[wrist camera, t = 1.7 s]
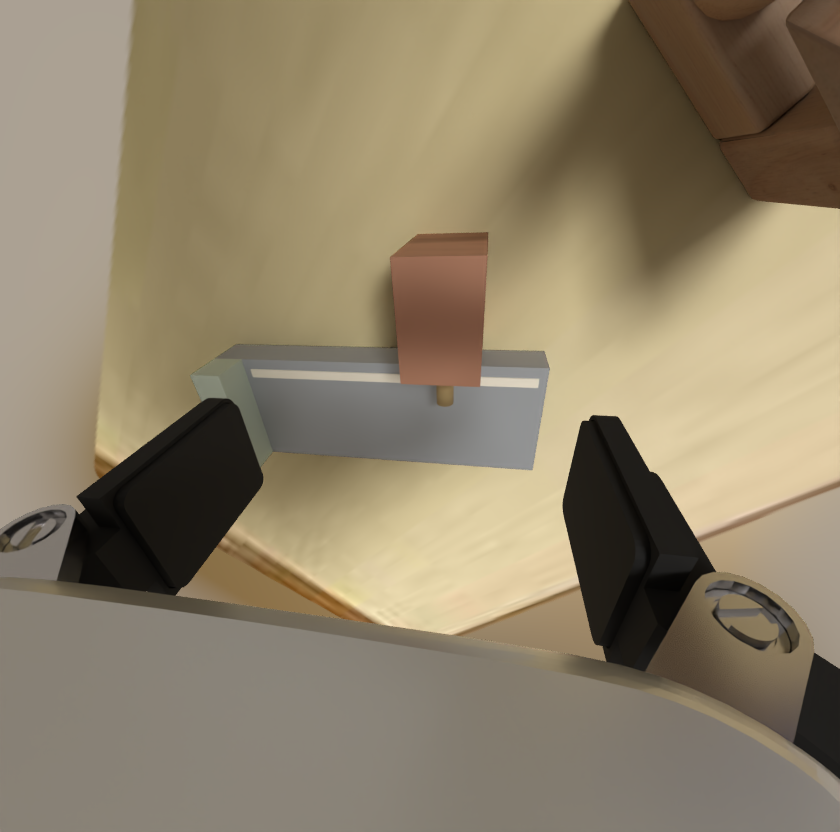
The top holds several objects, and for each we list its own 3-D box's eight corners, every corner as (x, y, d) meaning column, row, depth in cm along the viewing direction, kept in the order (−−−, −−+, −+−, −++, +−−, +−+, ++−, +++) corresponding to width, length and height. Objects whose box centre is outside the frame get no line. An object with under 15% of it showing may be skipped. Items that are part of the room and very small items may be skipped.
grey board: (235, 344, 27) (189, 375, 23) (544, 351, 23) (556, 388, 19) (265, 431, 31) (231, 470, 27) (529, 448, 28) (536, 495, 24)
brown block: (417, 234, 21) (390, 257, 15) (488, 232, 20) (487, 255, 14) (423, 367, 26) (403, 424, 20) (480, 369, 25) (477, 428, 19)
